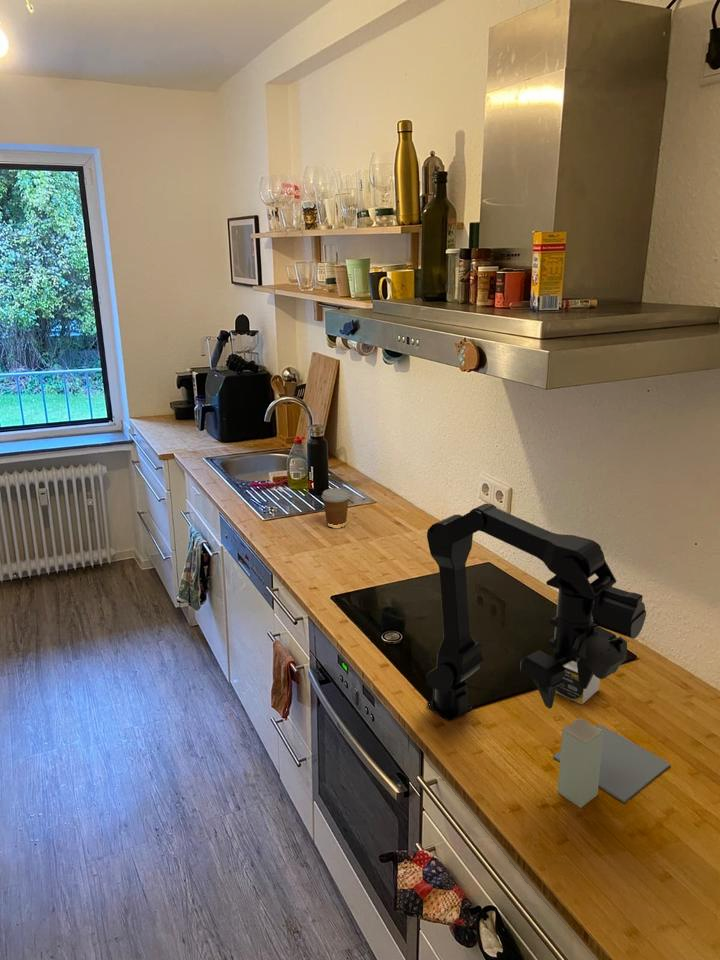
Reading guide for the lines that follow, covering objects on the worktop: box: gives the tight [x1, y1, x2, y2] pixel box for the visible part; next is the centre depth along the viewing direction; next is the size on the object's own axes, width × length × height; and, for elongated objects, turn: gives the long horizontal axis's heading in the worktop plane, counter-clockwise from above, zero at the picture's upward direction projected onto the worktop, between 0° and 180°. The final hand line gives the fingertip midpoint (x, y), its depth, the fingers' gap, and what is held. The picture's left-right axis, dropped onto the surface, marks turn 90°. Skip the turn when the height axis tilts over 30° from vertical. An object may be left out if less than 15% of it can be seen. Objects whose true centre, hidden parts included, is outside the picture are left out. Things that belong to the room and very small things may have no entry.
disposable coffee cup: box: [321, 487, 351, 525], centre depth 234 cm, size 10×10×12 cm
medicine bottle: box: [555, 661, 601, 705], centre depth 140 cm, size 7×7×12 cm
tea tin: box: [557, 717, 603, 809], centre depth 112 cm, size 4×4×13 cm
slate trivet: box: [552, 724, 671, 804], centre depth 121 cm, size 14×14×1 cm
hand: (566, 697), depth 118 cm, fingers open, 9 cm apart
